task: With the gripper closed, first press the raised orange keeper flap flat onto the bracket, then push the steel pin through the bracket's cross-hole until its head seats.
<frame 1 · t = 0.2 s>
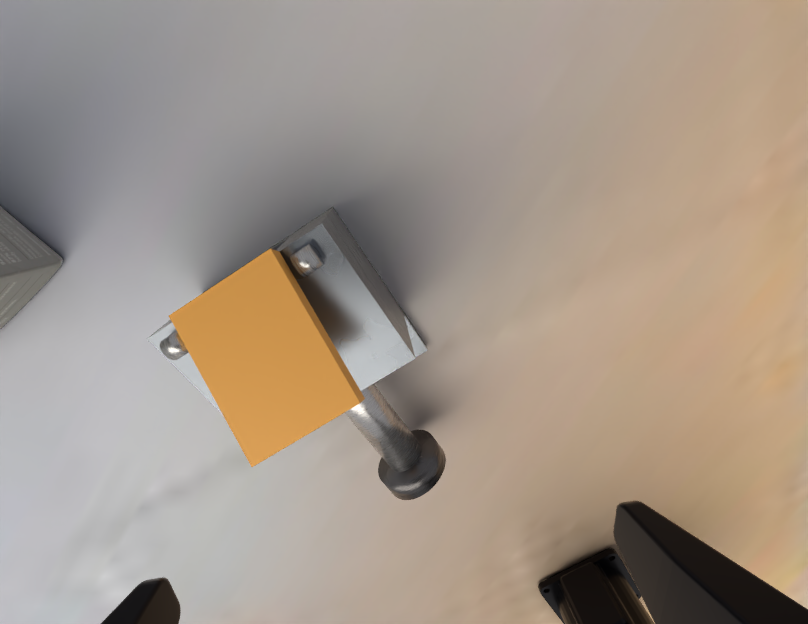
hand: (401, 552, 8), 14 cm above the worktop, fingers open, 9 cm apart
bracket: (305, 303, 20), on the worktop
pin: (359, 398, 20), point 3 cm above the worktop, slide at 0.0 cm
keeper flap: (266, 356, 14), point 7 cm above the worktop, hinge at 25.0°
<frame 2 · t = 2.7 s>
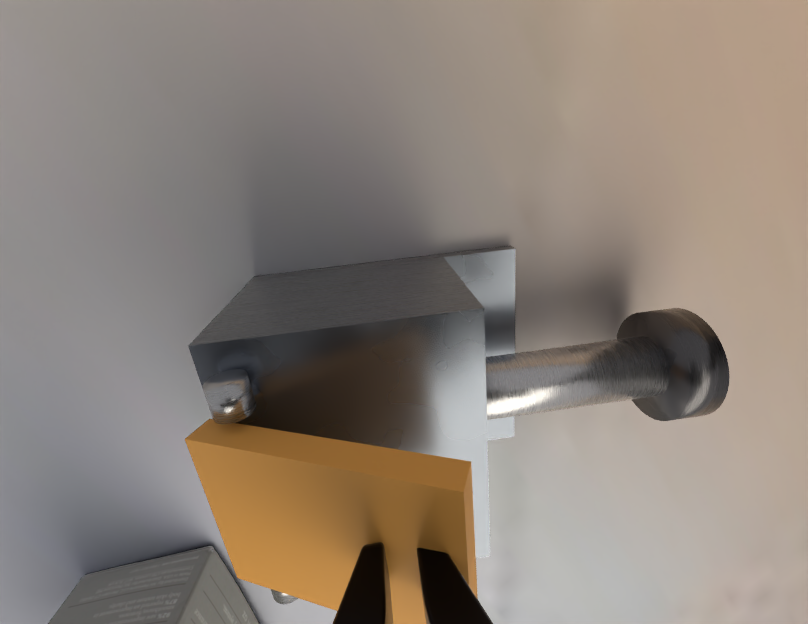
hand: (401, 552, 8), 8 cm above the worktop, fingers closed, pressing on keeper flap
bracket: (364, 365, 15), on the worktop
pin: (516, 383, 13), point 3 cm above the worktop, slide at 0.0 cm
keeper flap: (333, 530, 8), point 7 cm above the worktop, hinge at 24.2°, touching gripper
skincare box: (179, 605, 19), on the worktop
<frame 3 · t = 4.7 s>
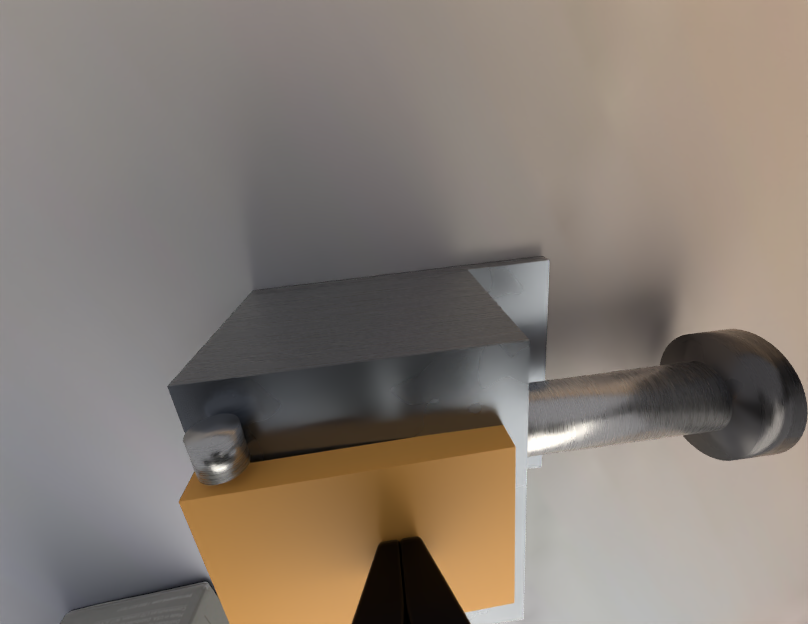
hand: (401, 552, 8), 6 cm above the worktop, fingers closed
bracket: (375, 389, 13), on the worktop
pin: (551, 415, 11), point 3 cm above the worktop, slide at 0.0 cm
keeper flap: (368, 543, 8), point 6 cm above the worktop, hinge at -2.0°, touching bracket
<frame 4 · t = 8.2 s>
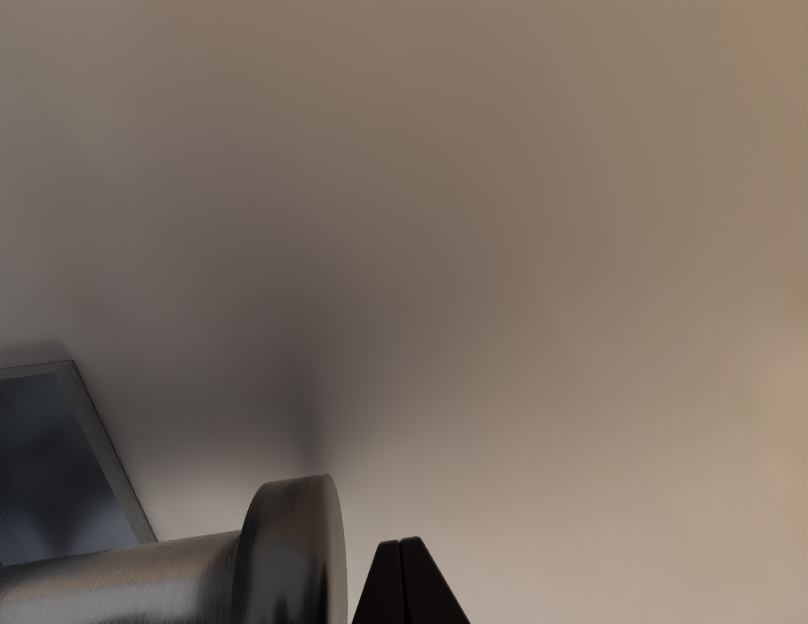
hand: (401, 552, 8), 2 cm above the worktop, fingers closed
pin: (22, 623, 7), point 3 cm above the worktop, slide at 0.0 cm, touching gripper
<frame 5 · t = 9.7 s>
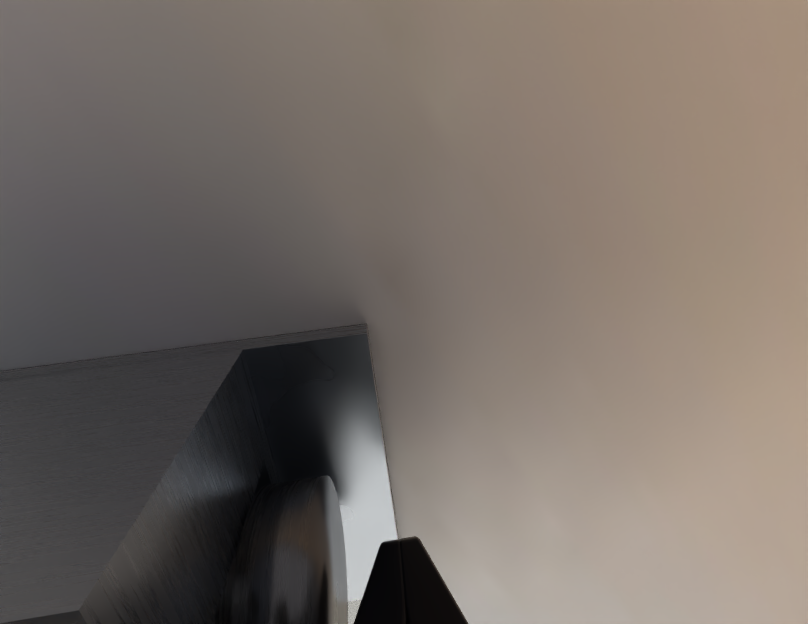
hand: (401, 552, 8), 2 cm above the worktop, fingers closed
bracket: (155, 502, 10), on the worktop
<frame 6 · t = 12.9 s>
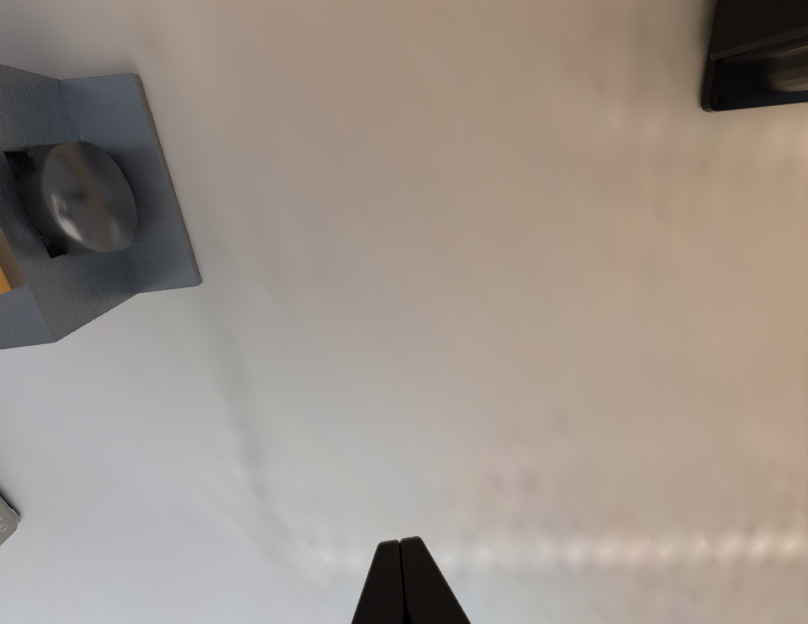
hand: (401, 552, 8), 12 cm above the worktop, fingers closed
bracket: (26, 204, 16), on the worktop
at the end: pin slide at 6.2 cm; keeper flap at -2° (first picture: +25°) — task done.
